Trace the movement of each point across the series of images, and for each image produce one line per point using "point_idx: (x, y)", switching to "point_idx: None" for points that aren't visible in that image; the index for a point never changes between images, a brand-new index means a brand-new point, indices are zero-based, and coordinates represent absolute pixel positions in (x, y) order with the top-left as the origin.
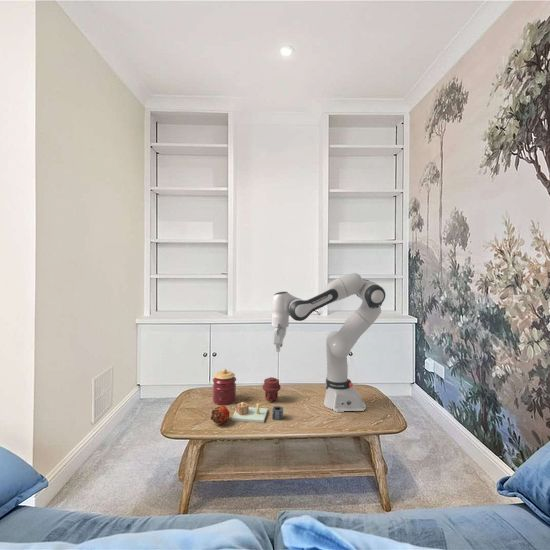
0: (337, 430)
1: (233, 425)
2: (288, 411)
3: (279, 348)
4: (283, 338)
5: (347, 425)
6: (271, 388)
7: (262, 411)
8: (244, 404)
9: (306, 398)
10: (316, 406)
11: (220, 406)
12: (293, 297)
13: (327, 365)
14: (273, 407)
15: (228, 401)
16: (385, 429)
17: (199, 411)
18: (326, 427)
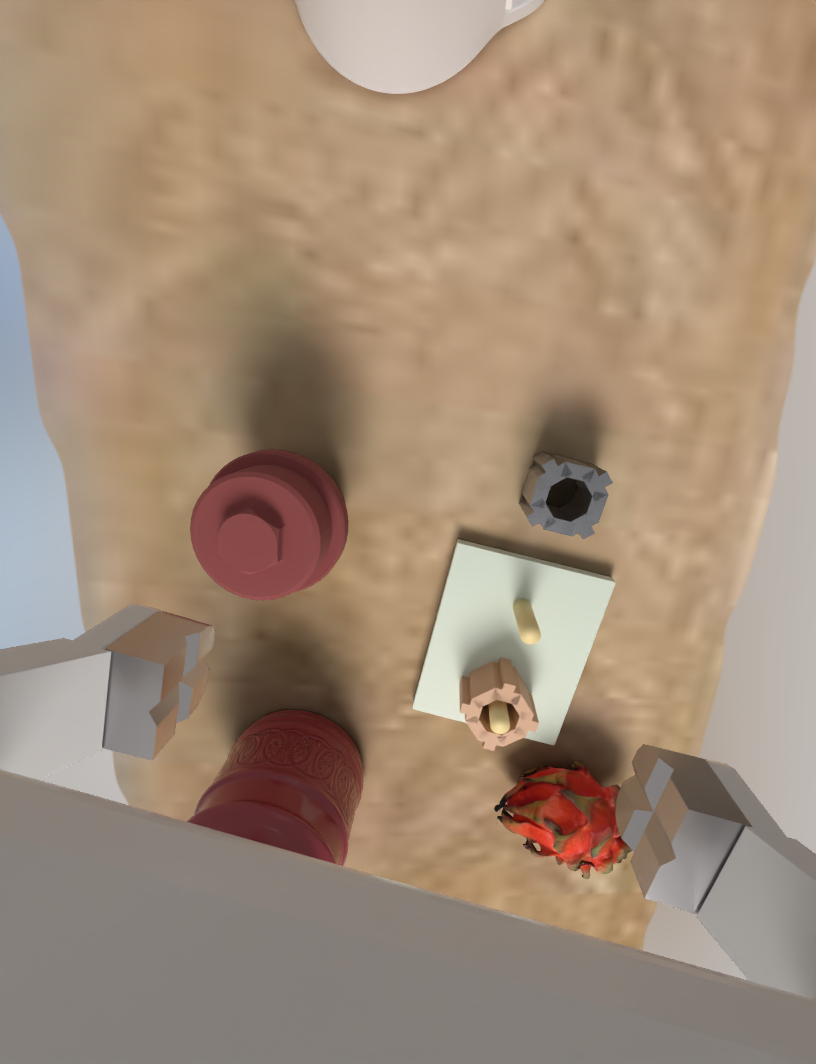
0: None
1: (608, 728)
2: (481, 406)
3: (789, 850)
4: (260, 904)
5: None
6: (331, 533)
7: (496, 578)
8: (483, 702)
9: (278, 230)
10: (422, 170)
11: (564, 851)
12: None
13: None
14: (546, 527)
15: (356, 758)
16: None
17: (430, 870)
18: (760, 161)
